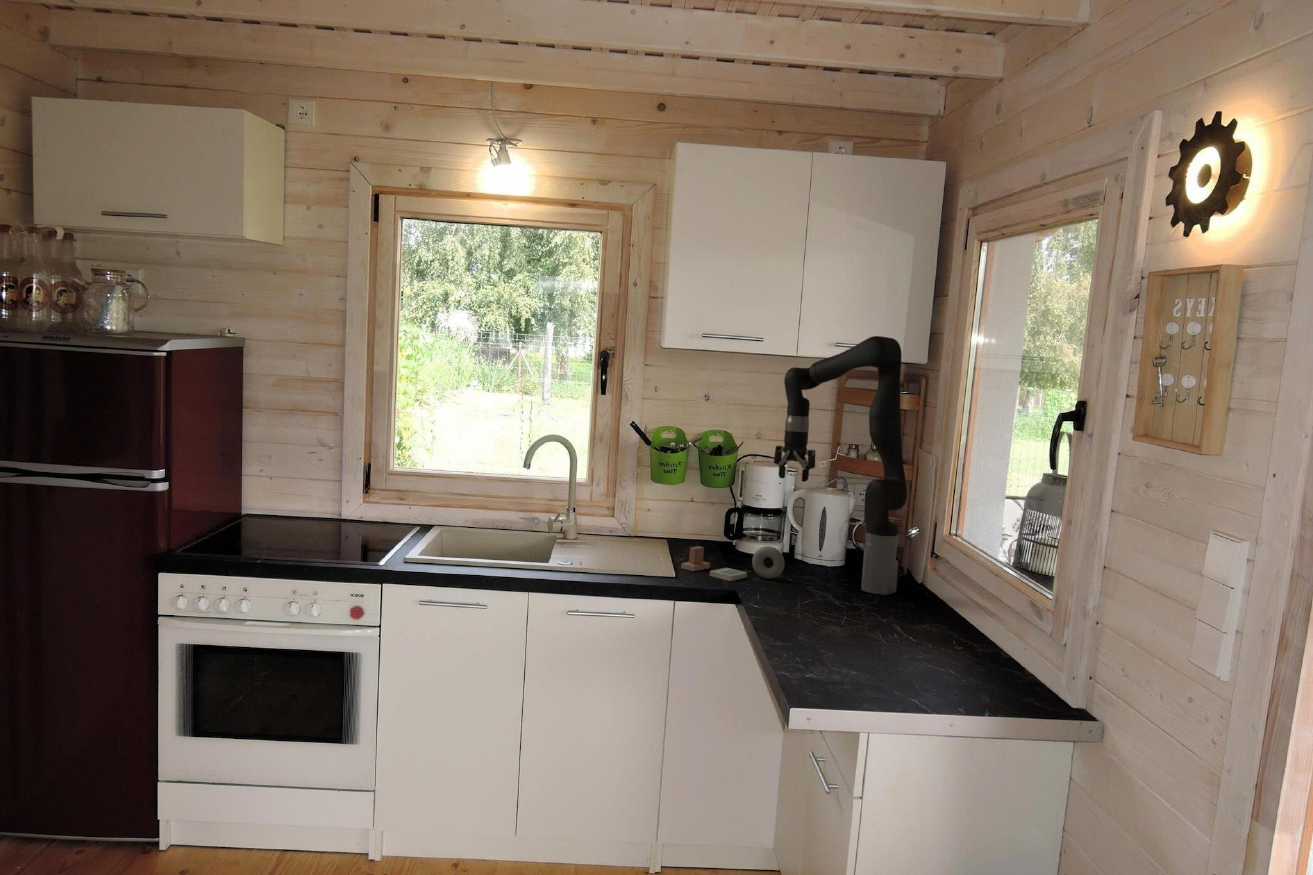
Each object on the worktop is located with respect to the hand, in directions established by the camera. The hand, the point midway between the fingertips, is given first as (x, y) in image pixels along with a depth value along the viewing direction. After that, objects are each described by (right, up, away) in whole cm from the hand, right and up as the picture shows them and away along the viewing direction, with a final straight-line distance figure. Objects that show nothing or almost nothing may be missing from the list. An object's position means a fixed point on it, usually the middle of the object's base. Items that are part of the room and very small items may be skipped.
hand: (793, 479), depth 300 cm
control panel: (-22, -28, -19) cm, 41 cm away
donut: (-11, -29, -19) cm, 36 cm away
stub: (-32, -27, -11) cm, 43 cm away
